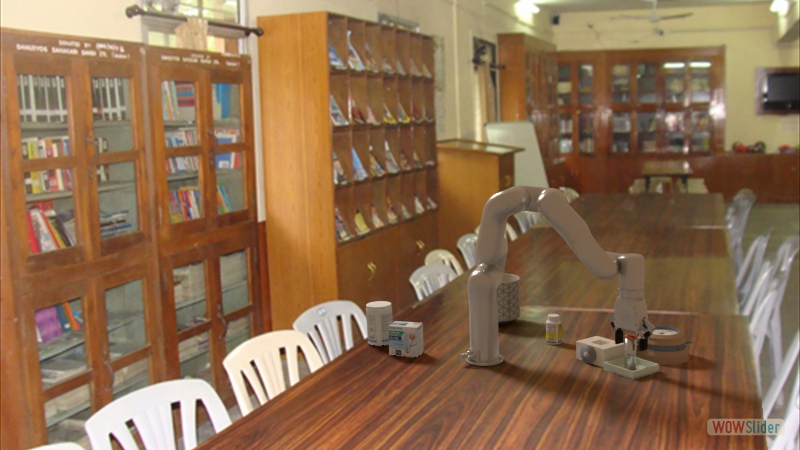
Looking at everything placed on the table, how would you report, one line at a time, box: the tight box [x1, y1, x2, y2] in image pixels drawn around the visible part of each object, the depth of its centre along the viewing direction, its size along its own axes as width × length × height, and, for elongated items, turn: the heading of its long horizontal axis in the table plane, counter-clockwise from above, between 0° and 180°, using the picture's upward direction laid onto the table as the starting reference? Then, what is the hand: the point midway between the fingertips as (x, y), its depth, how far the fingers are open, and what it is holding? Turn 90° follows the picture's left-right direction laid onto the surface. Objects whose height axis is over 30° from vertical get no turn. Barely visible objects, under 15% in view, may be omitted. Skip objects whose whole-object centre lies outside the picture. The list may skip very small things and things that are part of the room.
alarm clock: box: [623, 325, 693, 366], centre depth 260 cm, size 17×9×23 cm
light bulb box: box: [388, 320, 424, 358], centre depth 271 cm, size 11×7×11 cm, turn 70°
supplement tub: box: [365, 300, 394, 347], centre depth 284 cm, size 10×10×15 cm
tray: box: [602, 356, 660, 381], centre depth 246 cm, size 12×12×2 cm
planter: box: [497, 272, 521, 327], centre depth 306 cm, size 19×19×18 cm
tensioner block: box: [575, 335, 625, 368], centre depth 257 cm, size 12×12×6 cm
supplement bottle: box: [545, 313, 563, 346], centre depth 278 cm, size 6×6×10 cm
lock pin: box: [624, 332, 638, 371], centre depth 245 cm, size 4×4×11 cm
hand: (631, 346), depth 245 cm, fingers open, 9 cm apart
